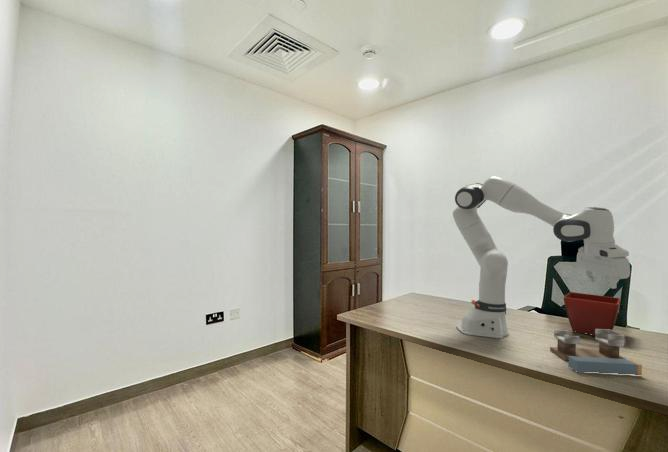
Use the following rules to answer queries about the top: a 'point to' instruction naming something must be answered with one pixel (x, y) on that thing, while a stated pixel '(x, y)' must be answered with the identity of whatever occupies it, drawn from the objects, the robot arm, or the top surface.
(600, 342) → the stand
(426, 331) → the top surface
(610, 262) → the robot arm
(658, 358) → the top surface
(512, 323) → the top surface
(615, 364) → the rail
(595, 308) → the plant pot
